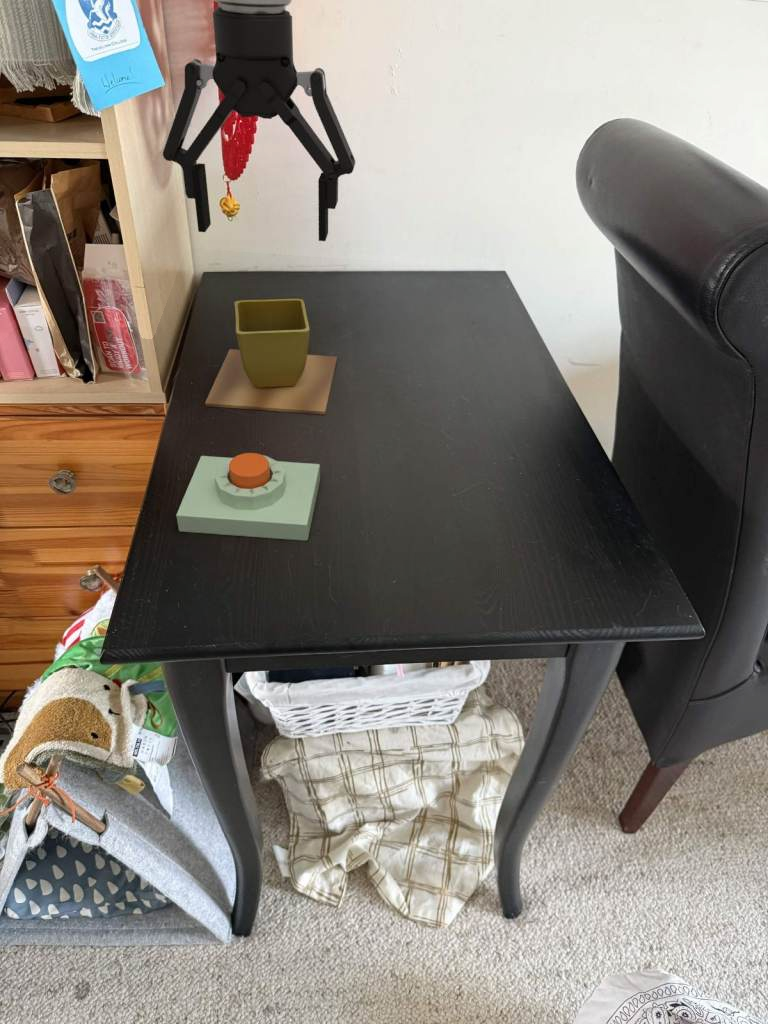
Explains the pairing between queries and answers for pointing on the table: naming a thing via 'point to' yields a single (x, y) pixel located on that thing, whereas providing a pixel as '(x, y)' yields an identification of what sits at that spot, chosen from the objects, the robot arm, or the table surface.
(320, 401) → the brown wooden board
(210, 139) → the robot arm
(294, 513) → the green button base
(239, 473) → the round orange button
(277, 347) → the flower pot
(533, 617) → the table surface
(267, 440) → the table surface
